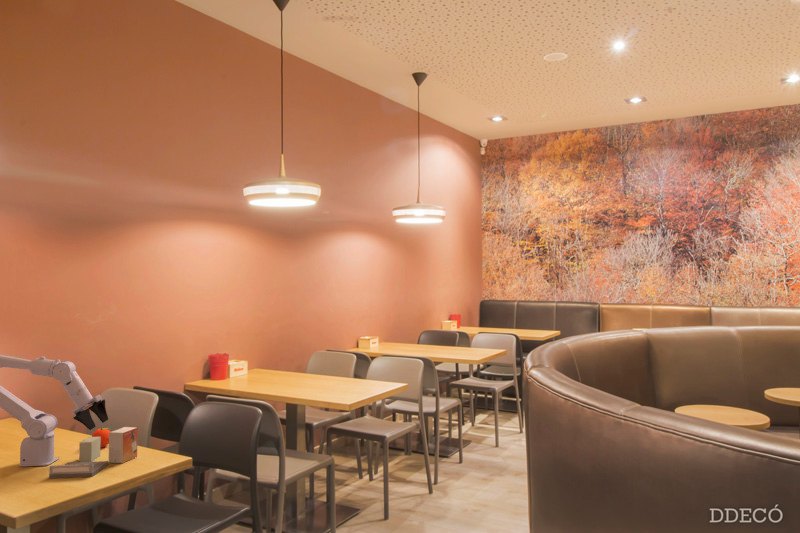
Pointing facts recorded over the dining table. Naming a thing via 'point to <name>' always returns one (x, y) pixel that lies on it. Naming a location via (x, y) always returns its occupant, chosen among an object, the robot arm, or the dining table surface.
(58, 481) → the dining table surface
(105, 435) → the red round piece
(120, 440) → the small box
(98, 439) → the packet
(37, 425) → the robot arm
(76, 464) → the grey square slab
